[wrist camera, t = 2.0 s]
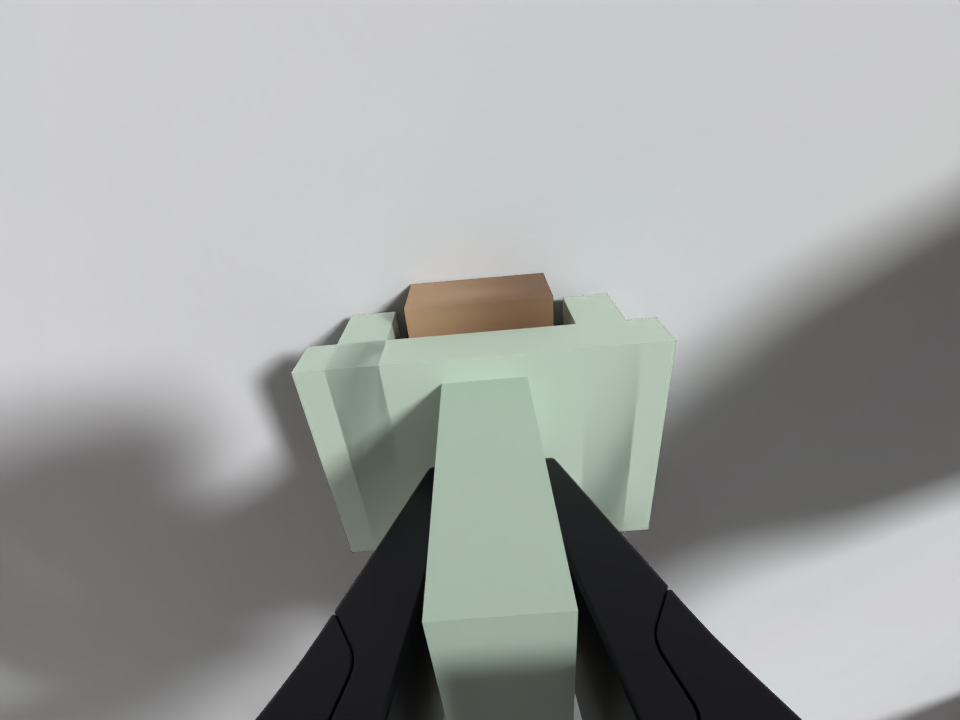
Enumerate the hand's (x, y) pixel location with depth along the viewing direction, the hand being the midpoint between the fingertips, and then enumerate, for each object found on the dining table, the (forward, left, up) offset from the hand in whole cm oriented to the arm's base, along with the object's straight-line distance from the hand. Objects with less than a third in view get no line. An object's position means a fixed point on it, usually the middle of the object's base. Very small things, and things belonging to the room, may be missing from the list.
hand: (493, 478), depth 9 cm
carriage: (0, 0, -3) cm, 3 cm away
